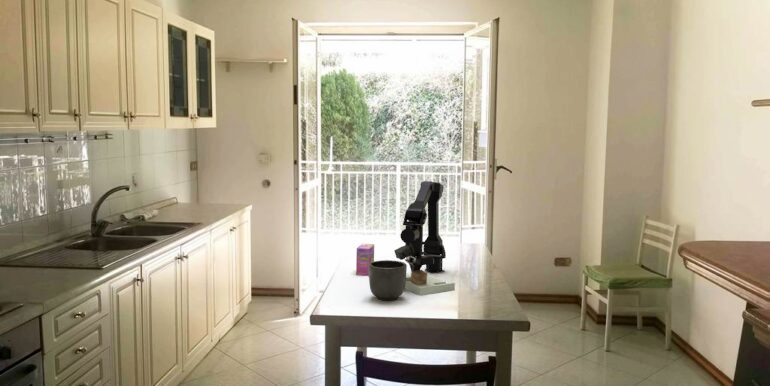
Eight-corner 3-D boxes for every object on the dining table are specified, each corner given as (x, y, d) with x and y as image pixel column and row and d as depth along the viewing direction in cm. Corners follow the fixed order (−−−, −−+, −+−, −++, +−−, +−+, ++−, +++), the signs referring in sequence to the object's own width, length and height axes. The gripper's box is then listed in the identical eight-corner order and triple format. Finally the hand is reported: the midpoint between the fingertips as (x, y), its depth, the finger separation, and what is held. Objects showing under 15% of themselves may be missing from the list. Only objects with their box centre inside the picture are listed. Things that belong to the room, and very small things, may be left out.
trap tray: (419, 276, 261) (419, 269, 260) (454, 290, 239) (454, 283, 239) (386, 280, 253) (386, 274, 252) (420, 295, 231) (420, 288, 231)
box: (369, 275, 261) (369, 248, 260) (356, 275, 262) (356, 247, 261) (374, 270, 271) (374, 244, 270) (361, 269, 273) (361, 243, 271)
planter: (379, 305, 217) (379, 270, 216) (362, 296, 229) (362, 262, 228) (413, 301, 223) (413, 266, 222) (395, 291, 236) (395, 258, 234)
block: (420, 280, 244) (421, 269, 243) (426, 284, 240) (427, 273, 239) (410, 281, 241) (411, 270, 240) (416, 285, 238) (417, 274, 237)
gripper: (386, 236, 246) (385, 274, 248) (410, 245, 230) (409, 285, 232) (409, 234, 251) (408, 271, 253) (435, 242, 235) (434, 282, 237)
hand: (414, 277), depth 244 cm, fingers closed
